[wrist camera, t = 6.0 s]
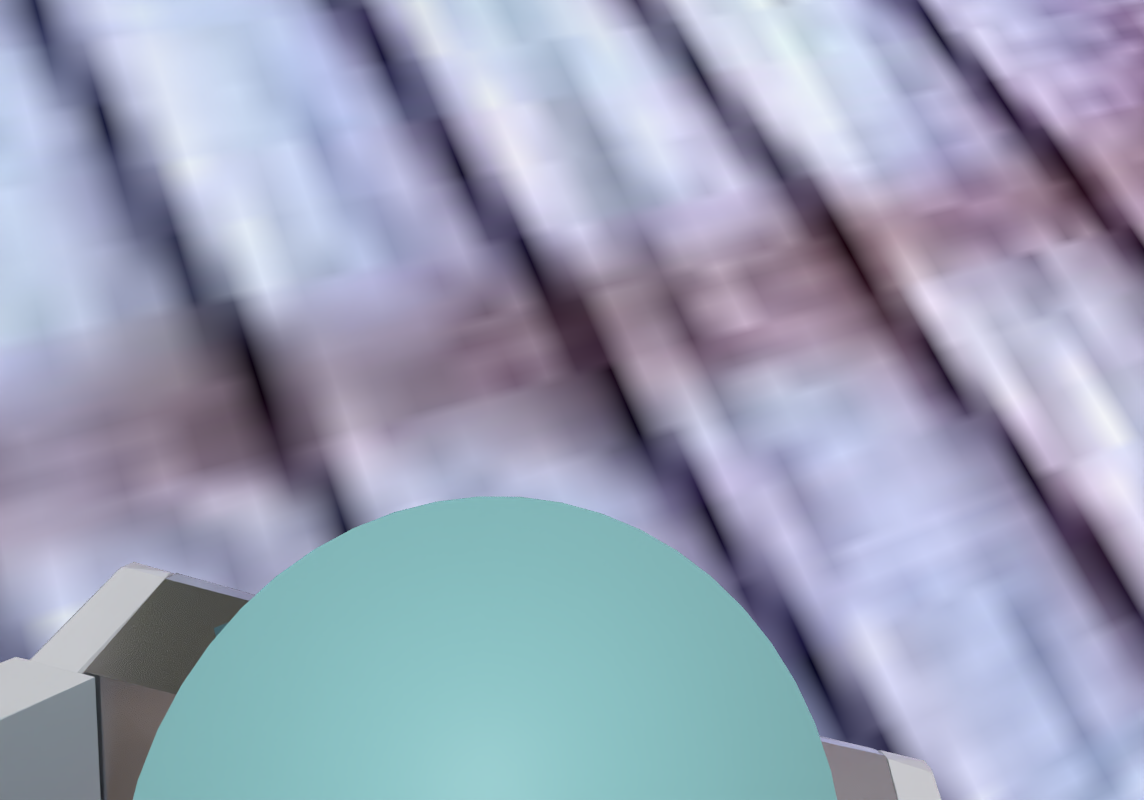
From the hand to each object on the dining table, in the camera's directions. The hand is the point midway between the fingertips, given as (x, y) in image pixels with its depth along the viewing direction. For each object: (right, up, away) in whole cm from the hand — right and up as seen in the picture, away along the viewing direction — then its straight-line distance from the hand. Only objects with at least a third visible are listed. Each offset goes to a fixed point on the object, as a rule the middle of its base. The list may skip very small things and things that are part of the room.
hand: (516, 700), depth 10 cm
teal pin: (-1, -3, +6) cm, 6 cm away
